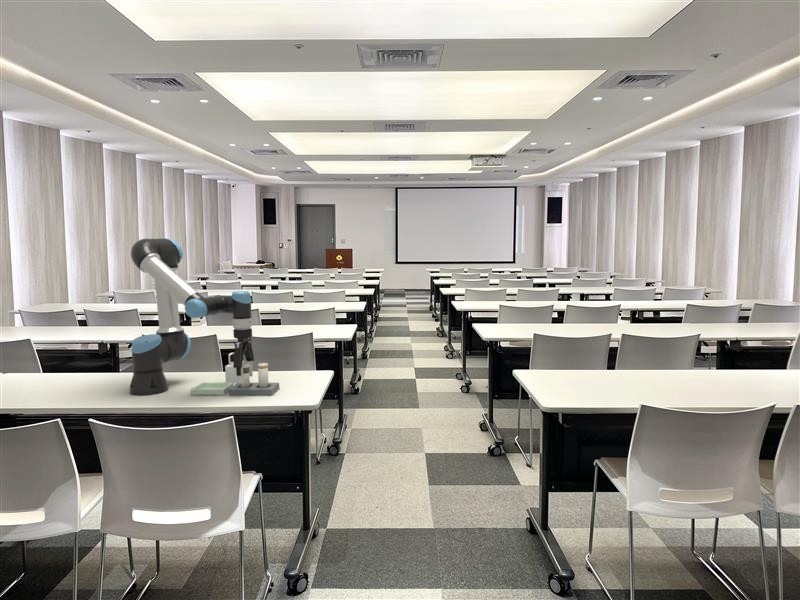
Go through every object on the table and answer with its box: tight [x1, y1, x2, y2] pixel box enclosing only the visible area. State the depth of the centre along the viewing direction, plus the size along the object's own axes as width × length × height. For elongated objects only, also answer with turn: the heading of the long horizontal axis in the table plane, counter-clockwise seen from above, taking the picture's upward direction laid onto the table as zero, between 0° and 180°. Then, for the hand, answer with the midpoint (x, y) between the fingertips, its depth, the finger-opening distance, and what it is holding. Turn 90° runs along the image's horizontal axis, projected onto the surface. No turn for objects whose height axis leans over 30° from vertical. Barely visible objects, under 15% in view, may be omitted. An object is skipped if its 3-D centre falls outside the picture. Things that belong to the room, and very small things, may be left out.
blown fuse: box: [240, 362, 251, 388], centre depth 244 cm, size 4×4×12 cm
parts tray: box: [189, 381, 235, 397], centre depth 245 cm, size 14×12×2 cm
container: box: [224, 351, 245, 384], centre depth 263 cm, size 8×8×13 cm
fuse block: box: [227, 382, 280, 397], centre depth 244 cm, size 18×12×2 cm, turn 87°
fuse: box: [257, 362, 269, 388], centre depth 244 cm, size 4×4×12 cm
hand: (244, 379), depth 244 cm, fingers open, 11 cm apart
